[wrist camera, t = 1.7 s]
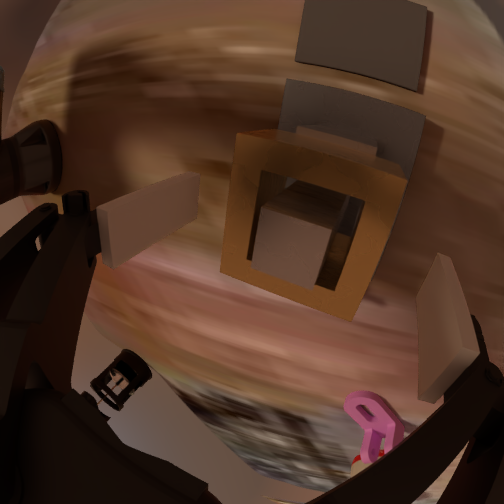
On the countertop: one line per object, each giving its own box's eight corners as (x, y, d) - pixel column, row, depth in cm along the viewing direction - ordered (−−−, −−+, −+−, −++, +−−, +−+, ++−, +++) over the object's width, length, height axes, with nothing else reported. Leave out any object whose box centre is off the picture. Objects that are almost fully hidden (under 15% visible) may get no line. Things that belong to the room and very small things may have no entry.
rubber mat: (296, 62, 22) (294, 60, 21) (309, -16, 17) (307, -18, 16) (415, 91, 18) (416, 91, 18) (426, 9, 14) (427, 7, 13)
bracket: (404, 426, 35) (399, 461, 29) (376, 433, 38) (368, 466, 33) (370, 385, 34) (362, 426, 29) (338, 395, 37) (327, 433, 32)
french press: (142, 353, 56) (71, 423, 37) (160, 382, 59) (99, 451, 40) (112, 344, 61) (49, 403, 42) (130, 372, 64) (73, 430, 46)
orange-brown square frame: (254, 239, 21) (220, 272, 17) (272, 128, 17) (236, 133, 13) (360, 276, 19) (351, 322, 15) (398, 164, 15) (407, 180, 10)
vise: (260, 256, 32) (175, 353, 19) (293, 81, 23) (187, 46, 10) (362, 293, 29) (332, 421, 16) (422, 116, 19) (486, 110, 6)
